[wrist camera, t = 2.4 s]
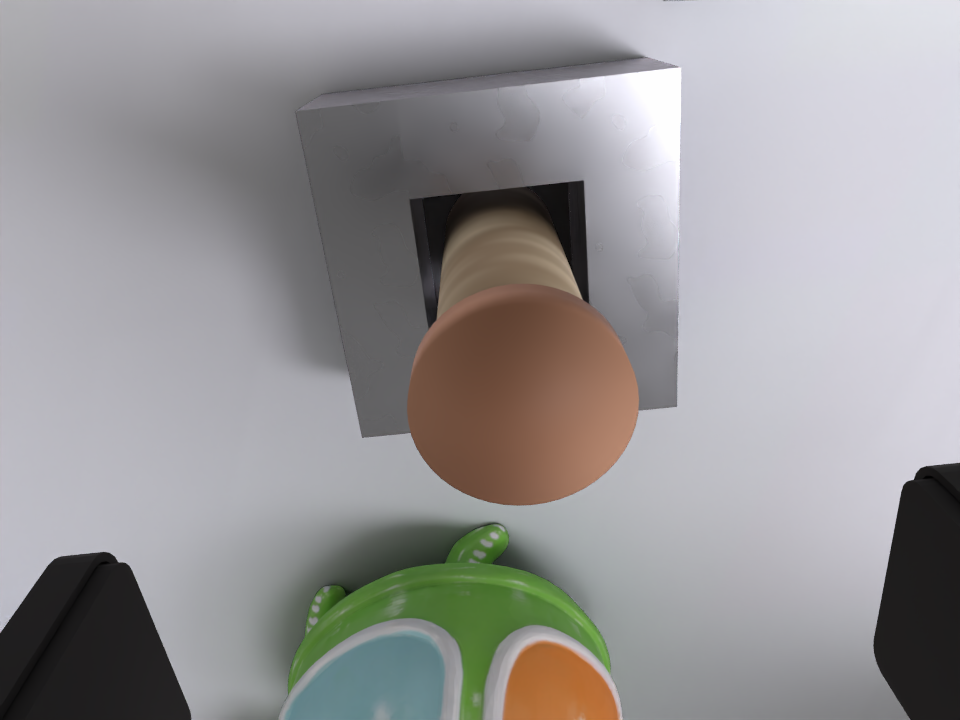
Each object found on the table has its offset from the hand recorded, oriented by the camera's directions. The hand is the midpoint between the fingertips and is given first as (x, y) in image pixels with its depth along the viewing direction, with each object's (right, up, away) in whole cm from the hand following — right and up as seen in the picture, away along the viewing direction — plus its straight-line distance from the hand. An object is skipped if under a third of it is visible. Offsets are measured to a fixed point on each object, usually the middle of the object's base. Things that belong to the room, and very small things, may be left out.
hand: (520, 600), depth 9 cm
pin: (0, +7, +16) cm, 17 cm away
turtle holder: (-3, -10, +24) cm, 27 cm away
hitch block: (0, +7, +16) cm, 17 cm away
